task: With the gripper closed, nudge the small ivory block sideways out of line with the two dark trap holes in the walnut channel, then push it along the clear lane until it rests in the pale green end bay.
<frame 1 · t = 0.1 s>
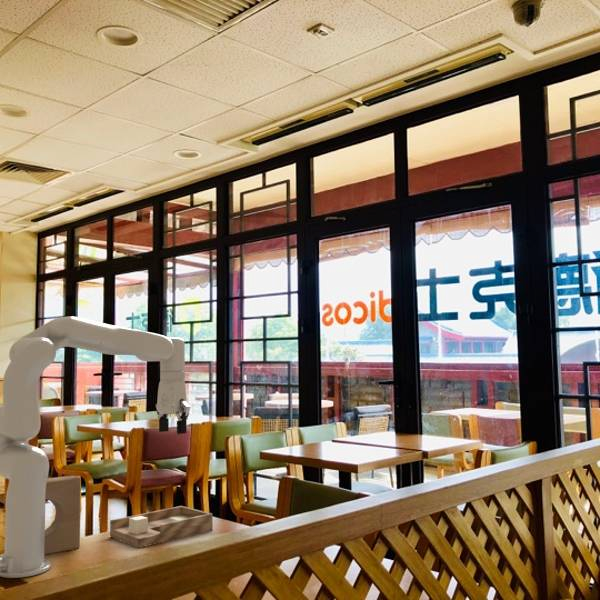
hand: (172, 432, 202), 31 cm above the table, tool pointing down, fingers open, 9 cm apart
ivory block: (138, 531, 194), point 2 cm above the table, touching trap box
decorative block: (57, 550, 185), on the table
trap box: (162, 533, 201), on the table
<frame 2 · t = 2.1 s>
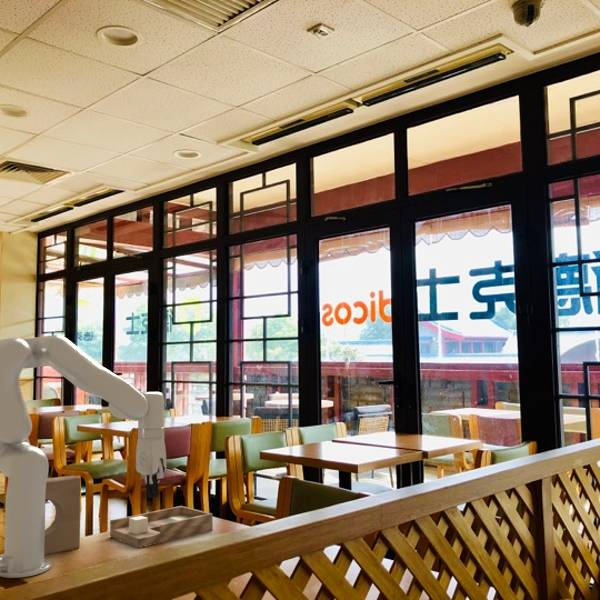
hand: (152, 497, 191), 13 cm above the table, tool pointing down, fingers closed
nothing on the table moved.
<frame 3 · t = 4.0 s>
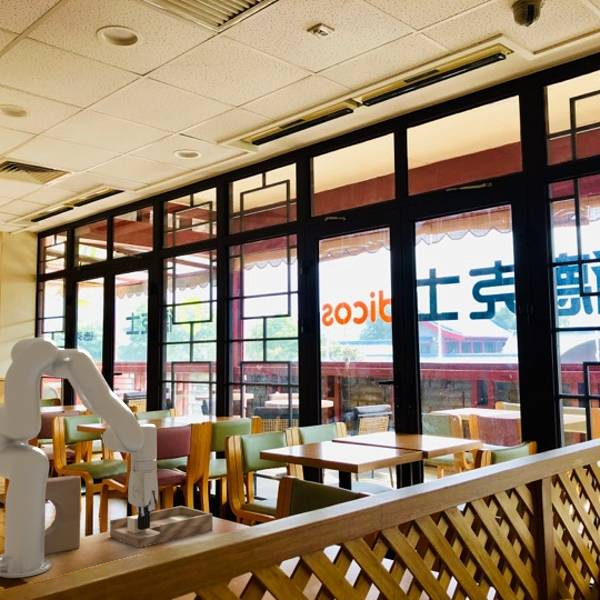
hand: (143, 528, 193), 4 cm above the table, tool pointing down, fingers closed
ivory block: (136, 530, 195), point 3 cm above the table, touching gripper
everything else where it was.
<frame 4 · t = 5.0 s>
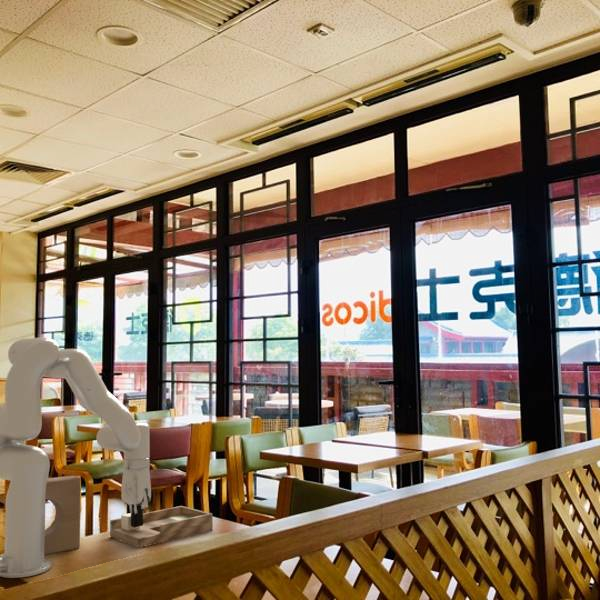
hand: (136, 525, 195), 4 cm above the table, tool pointing down, fingers closed
ivory block: (130, 528, 198), point 2 cm above the table, touching gripper, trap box
everything else where it was.
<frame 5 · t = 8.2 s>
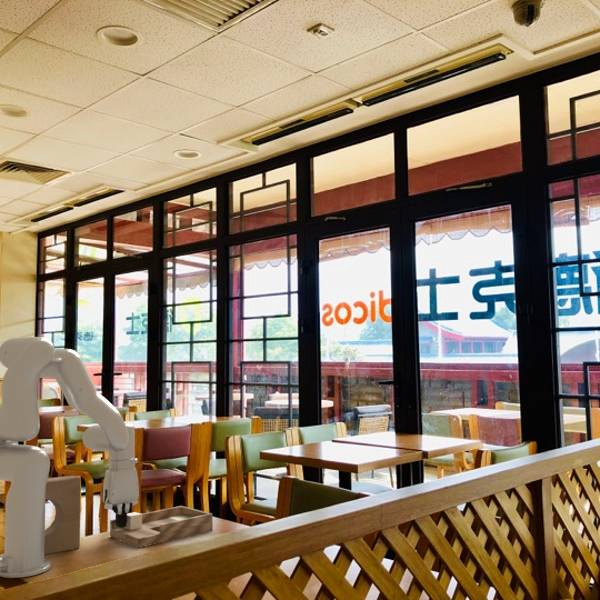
hand: (121, 526, 196), 4 cm above the table, tool pointing down, fingers closed
ivory block: (132, 527, 199), point 3 cm above the table, touching gripper
everything else where it was.
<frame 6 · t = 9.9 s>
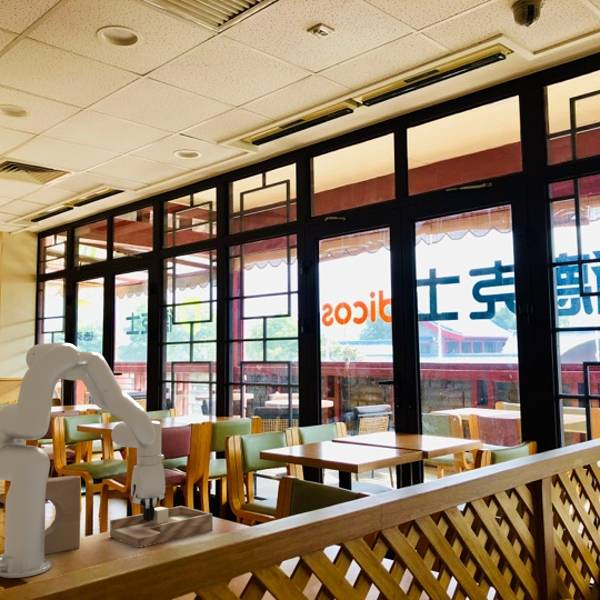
hand: (148, 520, 203), 4 cm above the table, tool pointing down, fingers closed
ivory block: (159, 521, 206), point 3 cm above the table, touching gripper
everything else where it was.
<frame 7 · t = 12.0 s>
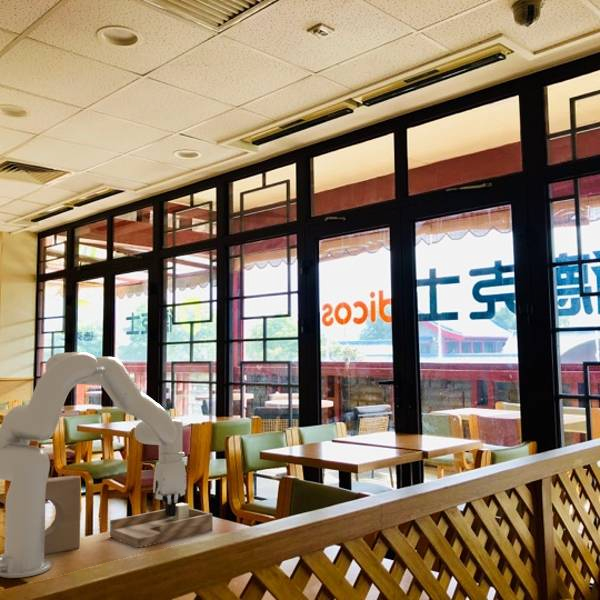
hand: (170, 515, 208), 4 cm above the table, tool pointing down, fingers closed
ivory block: (180, 517, 211), point 2 cm above the table, touching gripper, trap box
everything else where it was.
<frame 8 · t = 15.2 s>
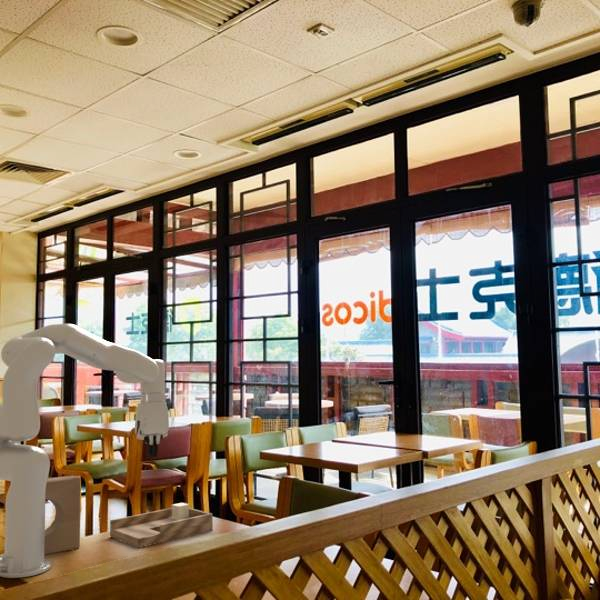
hand: (152, 456, 205), 23 cm above the table, tool pointing down, fingers closed
ivory block: (180, 517, 211), point 2 cm above the table, touching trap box
everything else where it was.
at the end: ivory block 0.8 cm from the target spot on the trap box, point 2.5 cm above the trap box's base; ivory block tilted 0° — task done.
